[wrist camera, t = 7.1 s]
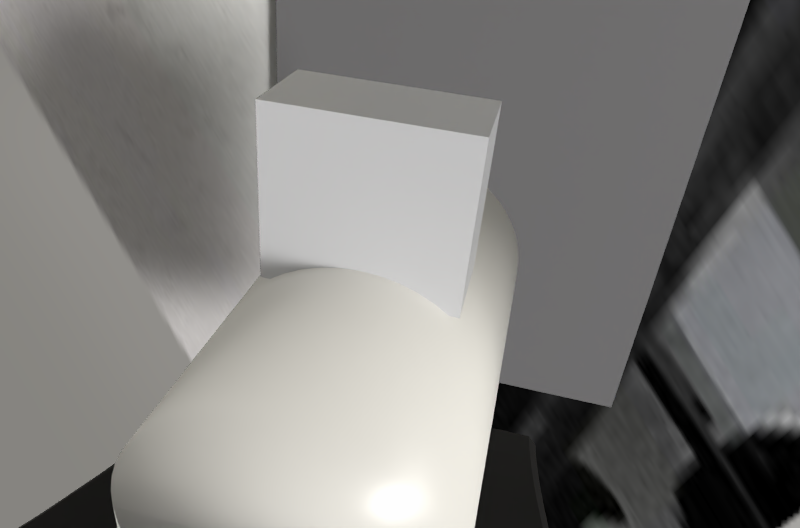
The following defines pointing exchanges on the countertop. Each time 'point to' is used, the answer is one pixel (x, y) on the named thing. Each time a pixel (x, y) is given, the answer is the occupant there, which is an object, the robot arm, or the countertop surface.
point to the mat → (554, 143)
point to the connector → (345, 327)
